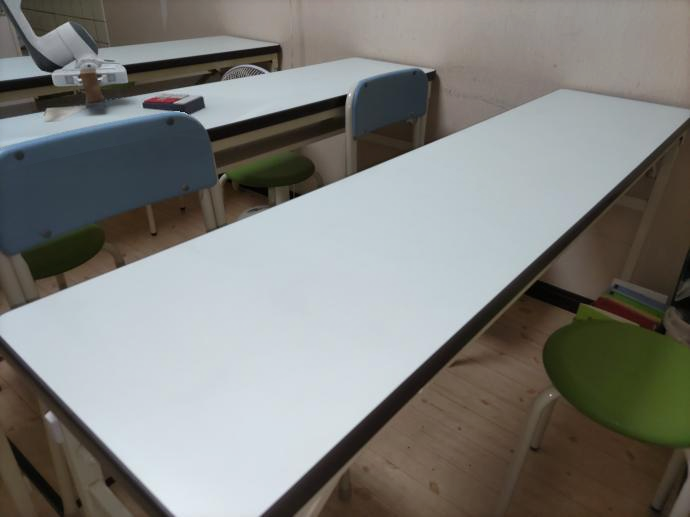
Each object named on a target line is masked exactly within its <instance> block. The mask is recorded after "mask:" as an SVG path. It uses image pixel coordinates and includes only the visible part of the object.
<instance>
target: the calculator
mask: <svg viewBox="0 0 690 517" xmlns="http://www.w3.org/2000/svg"><path fill="white" fill-rule="evenodd" d="M142 108H143V109H148V110H158V111H167V112H173V111H180V112H185V113H187V114H190V115H193V114H194V113H197V112H199V111H201V110H203V109H206V104H205V97H204V96H203V95H199V94H198V95H195V94H194V95H193V94H191V95H190V94H187V93H186V94H185V93H182V94H181V93H177V94H176V93H161V94H159V95H156V96H154V97H150V98H147V99H145V100H143V102H142Z"/></svg>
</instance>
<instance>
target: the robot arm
mask: <svg viewBox="0 0 690 517" xmlns="http://www.w3.org/2000/svg"><path fill="white" fill-rule="evenodd" d="M21 3H22V0H0V6H1V9H2V10H3V11H4V13H5V15H6V16H7V18H8V20H9V22H10V23H11V25H12V26H13V28H14V30H15V31H16V33H17V35H18V36H19V38H20V40H21V41H22V43H23V45H24V46H25V48H26V50H27V52H28V54H29V57H30V59H31V61H32V62H33V63H34V65H35V66H36V67H37V68H38V69H39V70H40V71H41V72H45V73H49V74H51V79H52V83H53V85H54V86H55V87H77V86H78V87H81V86H82V87H83V83H82V79H81V75H80V69H92V68H95V69H96V72H97V77H98V83H99V85H100V88H102V87H105V86H107V85H117V84H118V85H119V84H128V83H129V78H128V73H127V69H126V67H125V66H123V65H122V64H121V63H120V61H119V60H115V59H114V60H113V59H104V58H103V57H102V56H101V55H100V54H99V45H98V43H97V42H96V41H95V39H94V37H93V36H92V35H91V33H90V32H89V31H88V29H87V28H85V27H84V26H83V25H82V24H79V23H78V22H75V21H71V20H69V21H67V22H65V23H63V24H61V25H60V26H57V27H56V28H55V29H52V30H51V31H49V32H48V33H46V34H44V35H42V36H37V35H36V33H35V32H34V29H33V28H32V26H31V25H30V23H29V21H28V20H27V18H26V16H25V14H24V13H23V11H22V8H21ZM73 62H75V65H74V68H65V66H68V65H69V64H71V63H73Z"/></svg>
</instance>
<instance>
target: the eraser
mask: <svg viewBox="0 0 690 517" xmlns="http://www.w3.org/2000/svg"><path fill="white" fill-rule="evenodd" d="M80 75H81V79H82V83H83V86H82V87H83V90H84V94H85V106H86V107H87V108H86V109H87V110H88V109H98V108H106V106H107V105H106V97H105V94H103V92H102V89H101V87H100V85H99V83H98V77H97V72H96V69H95V68H92V69H80Z"/></svg>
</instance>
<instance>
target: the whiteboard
mask: <svg viewBox="0 0 690 517" xmlns="http://www.w3.org/2000/svg"><path fill="white" fill-rule="evenodd" d="M86 109H87V107H86V105H75V106H61V107H60V106H59V107H58V106H57V107H46V108H45V110H44V114H43V121H42V123H44V124H45V123H55V122H62V121H64V120H66V119H67V118H69V117H71V116H73V115H75V114H77V113H79V112H82V111H84V110H86Z"/></svg>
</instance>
